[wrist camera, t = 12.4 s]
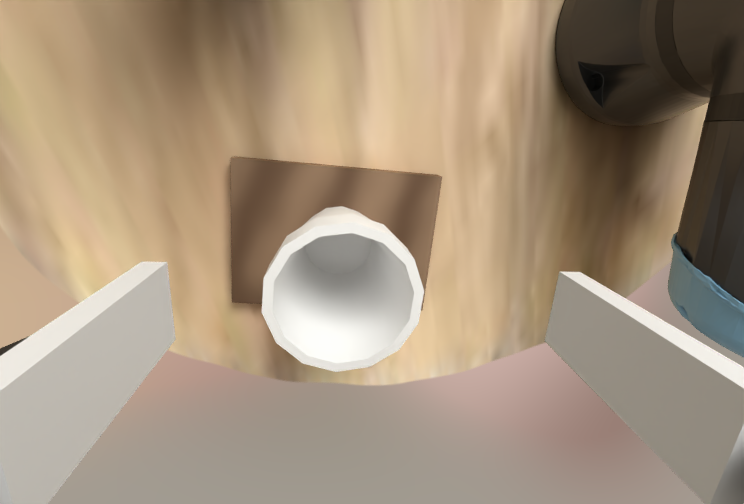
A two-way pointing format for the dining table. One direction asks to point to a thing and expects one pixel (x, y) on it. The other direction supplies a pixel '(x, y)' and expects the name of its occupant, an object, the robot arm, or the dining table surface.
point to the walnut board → (312, 195)
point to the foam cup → (342, 292)
